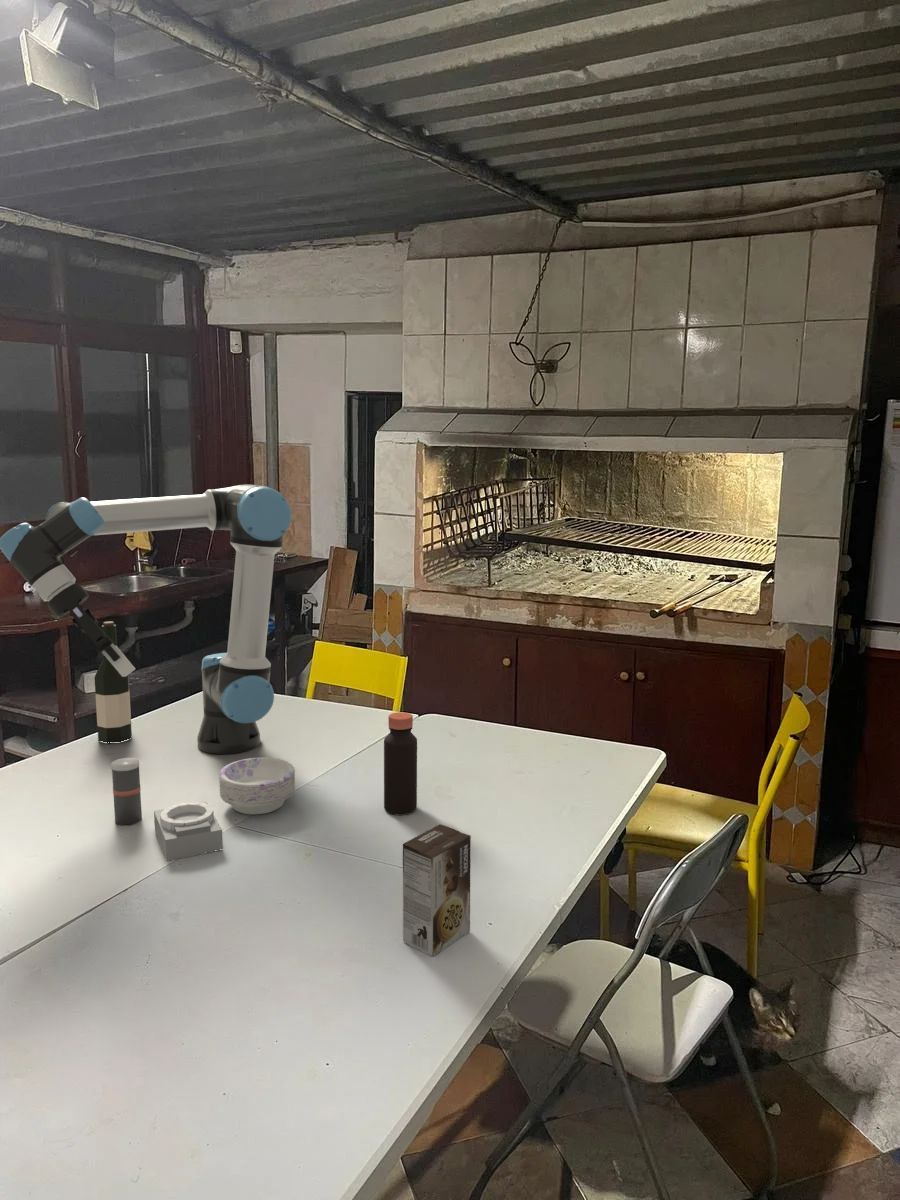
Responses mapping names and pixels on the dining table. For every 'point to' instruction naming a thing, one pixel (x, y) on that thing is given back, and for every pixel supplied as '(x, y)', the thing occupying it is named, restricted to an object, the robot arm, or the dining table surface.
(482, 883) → the dining table surface
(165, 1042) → the dining table surface
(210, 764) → the dining table surface
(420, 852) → the coffee box
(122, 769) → the grey capped canister
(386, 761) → the vinegar
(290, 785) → the paper bowls
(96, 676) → the wine bottle
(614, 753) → the dining table surface
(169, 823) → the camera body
